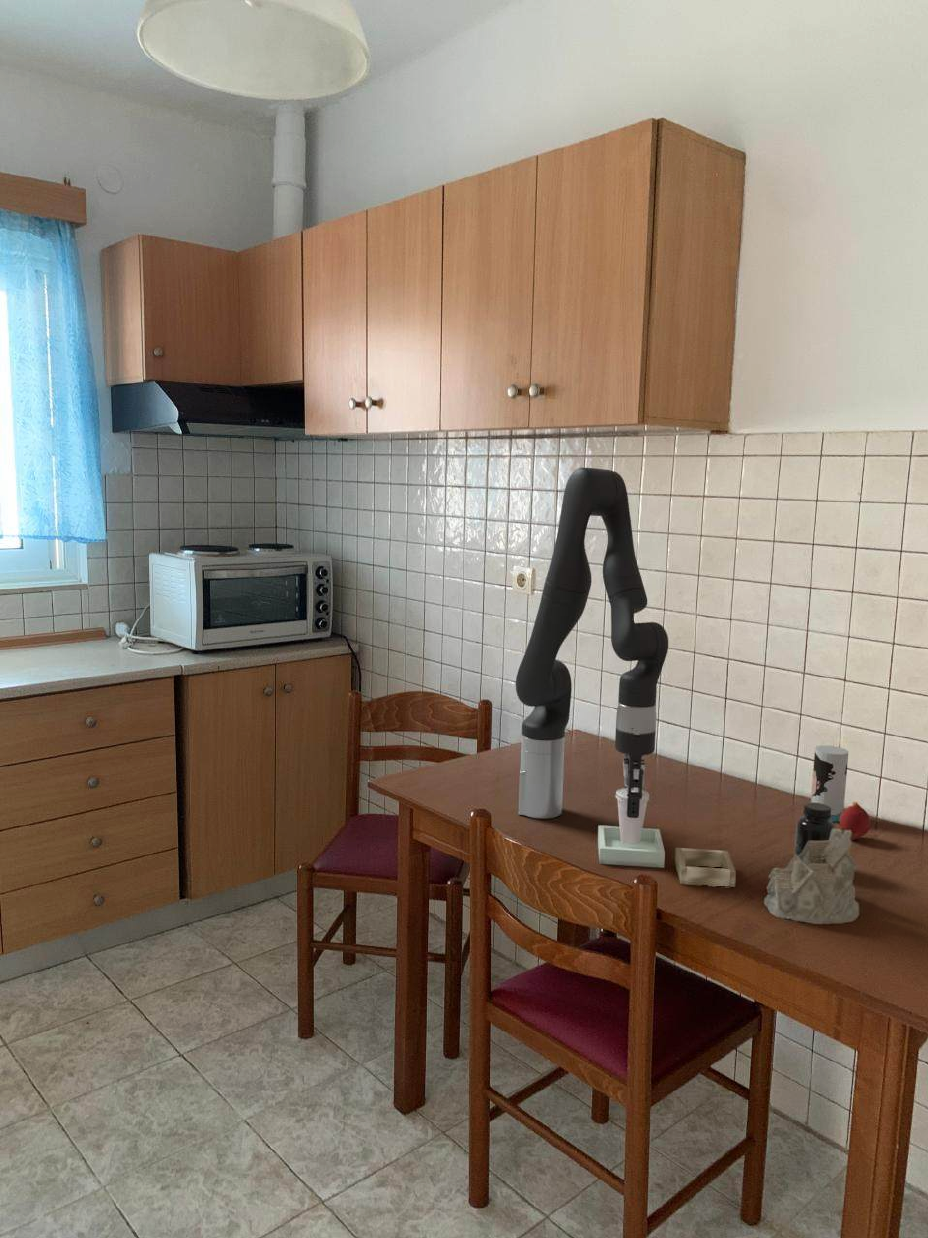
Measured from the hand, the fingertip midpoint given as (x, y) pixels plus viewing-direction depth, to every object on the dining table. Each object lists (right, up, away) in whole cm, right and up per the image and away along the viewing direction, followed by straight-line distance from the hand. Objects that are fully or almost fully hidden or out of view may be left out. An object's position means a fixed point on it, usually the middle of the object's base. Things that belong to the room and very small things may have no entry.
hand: (631, 810), depth 178 cm
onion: (+47, -8, +11) cm, 49 cm away
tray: (0, -8, +1) cm, 9 cm away
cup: (+47, -6, +24) cm, 53 cm away
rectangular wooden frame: (+12, -10, -8) cm, 18 cm away
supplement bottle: (+34, -10, -4) cm, 35 cm away
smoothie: (0, -6, +1) cm, 6 cm away
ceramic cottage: (+27, -12, -18) cm, 35 cm away
